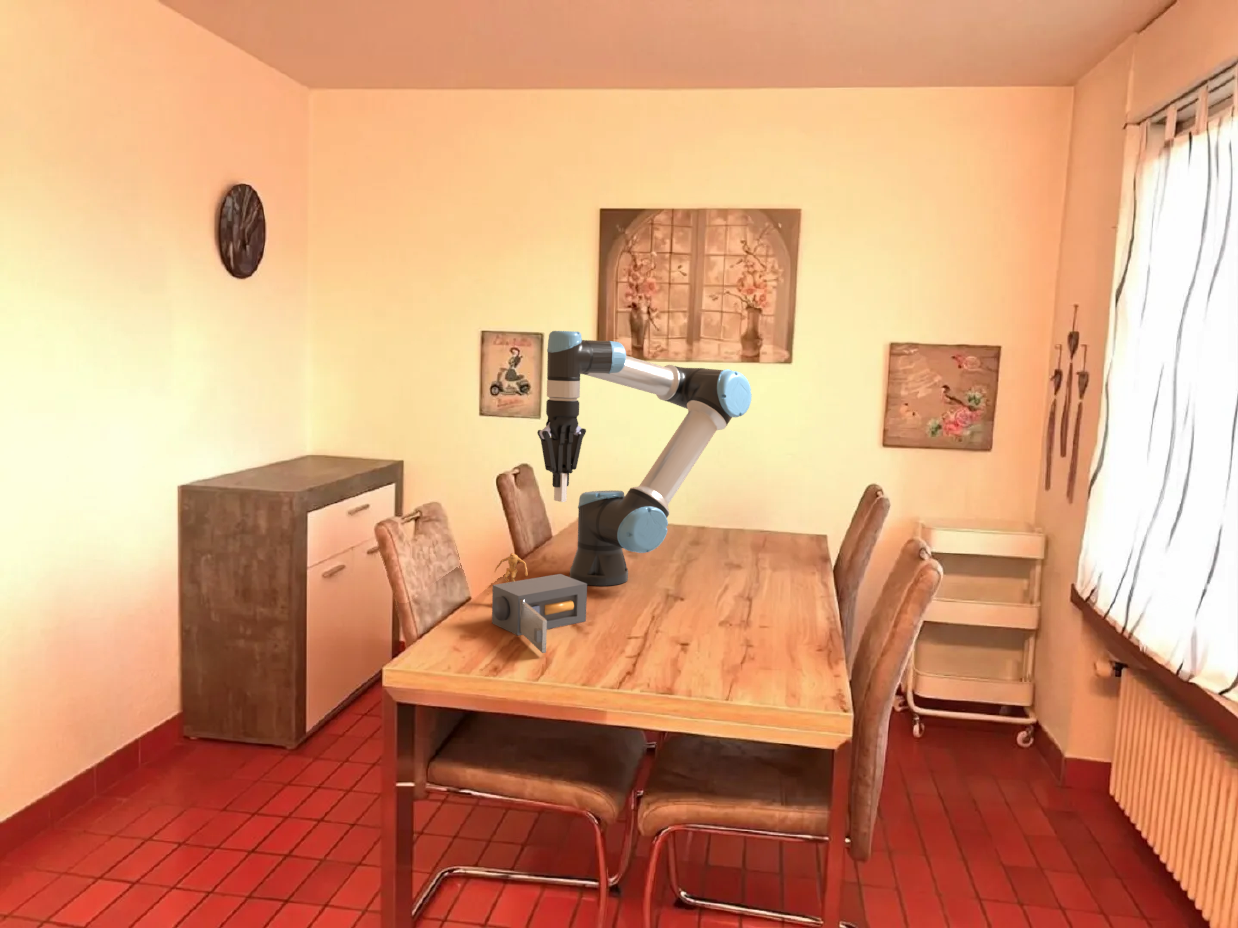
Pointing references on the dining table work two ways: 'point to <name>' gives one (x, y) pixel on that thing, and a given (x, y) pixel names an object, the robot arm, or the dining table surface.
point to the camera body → (540, 601)
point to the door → (533, 626)
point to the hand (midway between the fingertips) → (560, 500)
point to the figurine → (512, 566)
